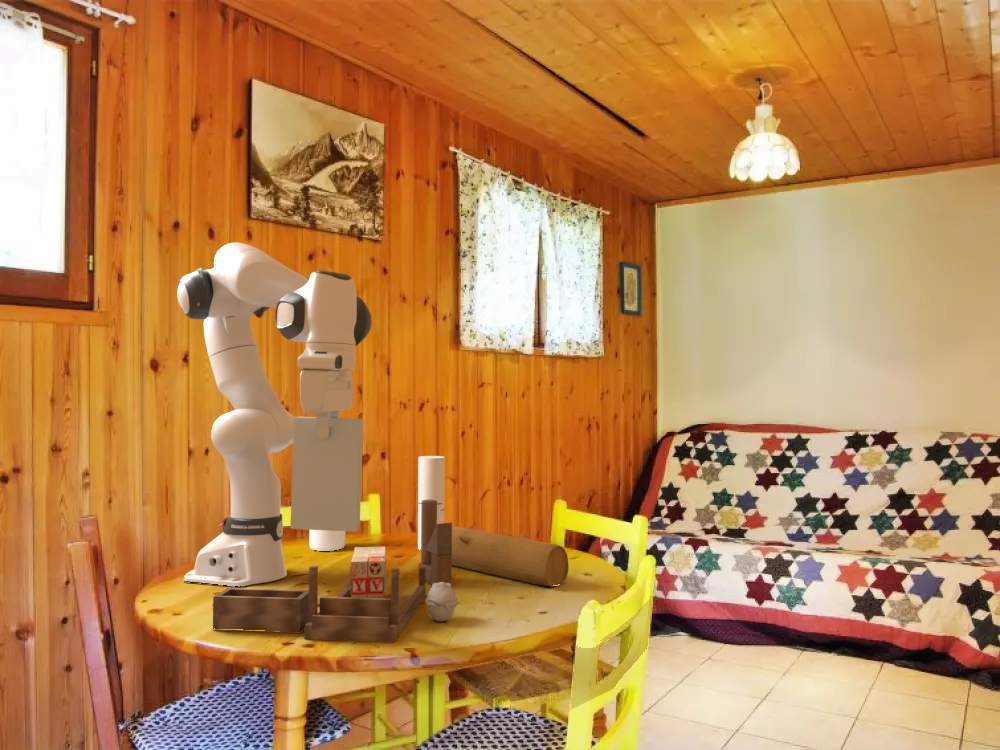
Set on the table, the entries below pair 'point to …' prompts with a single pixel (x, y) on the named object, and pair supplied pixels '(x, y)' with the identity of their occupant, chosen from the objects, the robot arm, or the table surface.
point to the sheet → (326, 475)
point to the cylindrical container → (431, 486)
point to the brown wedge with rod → (435, 545)
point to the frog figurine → (441, 601)
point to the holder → (261, 609)
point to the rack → (360, 612)
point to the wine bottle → (326, 540)
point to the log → (509, 556)
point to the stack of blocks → (368, 572)
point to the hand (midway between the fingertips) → (327, 436)
